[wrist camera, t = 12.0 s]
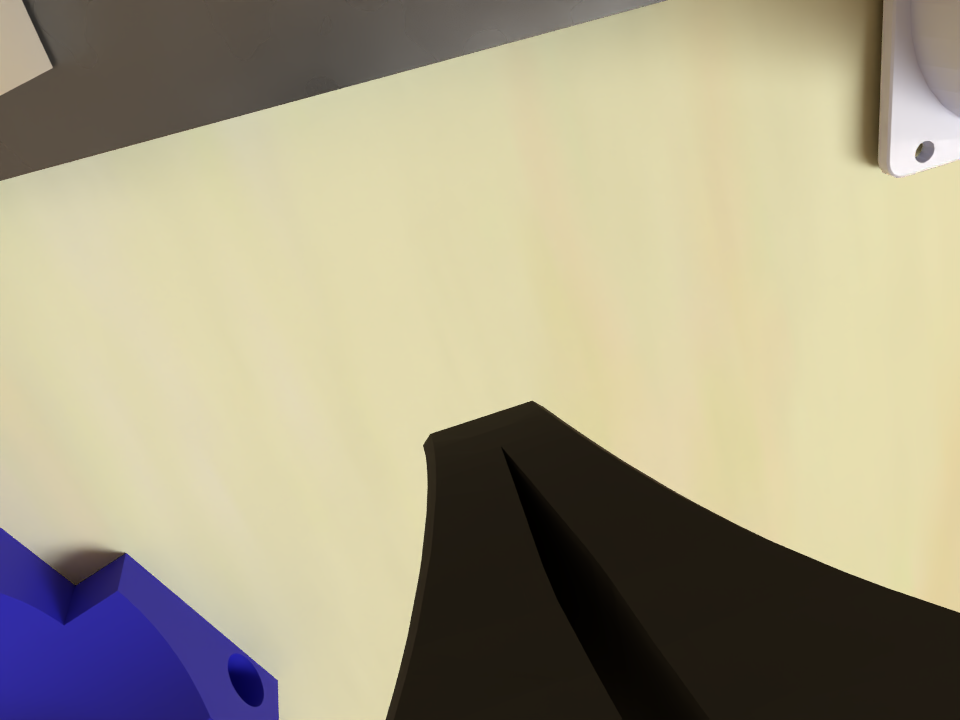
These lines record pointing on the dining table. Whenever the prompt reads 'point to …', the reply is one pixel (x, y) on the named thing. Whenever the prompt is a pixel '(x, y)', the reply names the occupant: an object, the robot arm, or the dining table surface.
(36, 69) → the on breaker
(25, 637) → the cable clip
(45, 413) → the dining table surface
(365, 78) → the breaker panel
